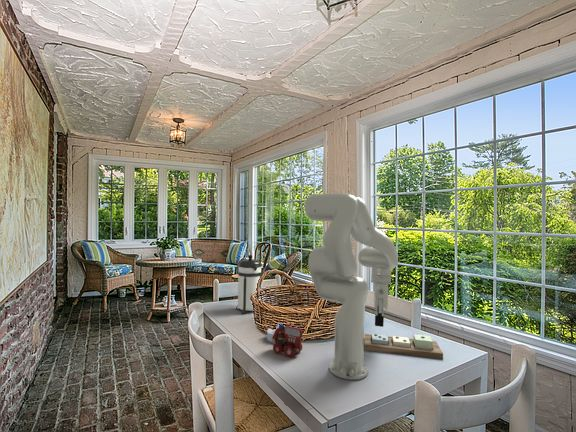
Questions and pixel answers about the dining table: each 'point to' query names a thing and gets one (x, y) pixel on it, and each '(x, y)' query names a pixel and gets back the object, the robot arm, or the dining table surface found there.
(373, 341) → the pale blue drawer
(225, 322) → the dining table surface
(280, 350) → the toy fire truck
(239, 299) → the coffee press
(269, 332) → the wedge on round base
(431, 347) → the pale green drawer
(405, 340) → the cream drawer
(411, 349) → the wooden compartment tray
